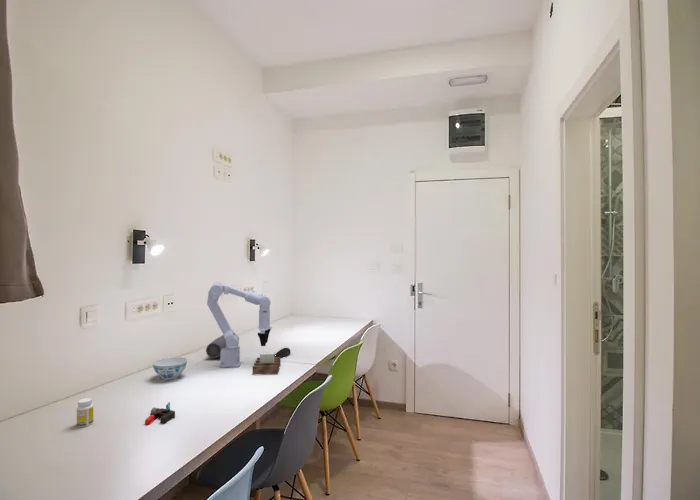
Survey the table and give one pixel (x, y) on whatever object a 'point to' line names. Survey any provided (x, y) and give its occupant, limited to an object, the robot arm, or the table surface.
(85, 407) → the supplement bottle
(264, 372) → the dish rack
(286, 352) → the hairbrush
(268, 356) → the pale green box
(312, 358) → the table surface
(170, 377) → the chinaware
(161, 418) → the toy gun
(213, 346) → the bluetooth speaker
